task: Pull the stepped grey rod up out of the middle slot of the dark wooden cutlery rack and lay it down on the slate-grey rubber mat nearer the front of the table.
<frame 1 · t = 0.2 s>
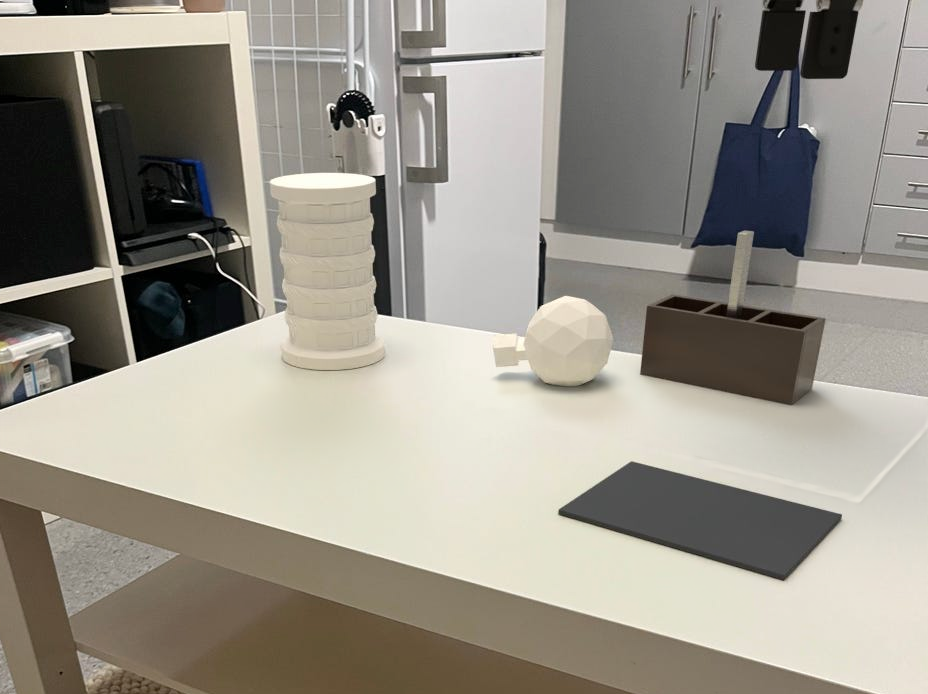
hand: (797, 74, 75), 29 cm above the table, tool pointing down, fingers open, 9 cm apart
mat: (698, 516, 78), on the table
perfume bottle: (552, 384, 105), on the table
stepped grey rod: (724, 381, 103), point 1 cm above the table, touching rack
decorative container: (333, 356, 114), on the table
rack: (723, 387, 104), on the table
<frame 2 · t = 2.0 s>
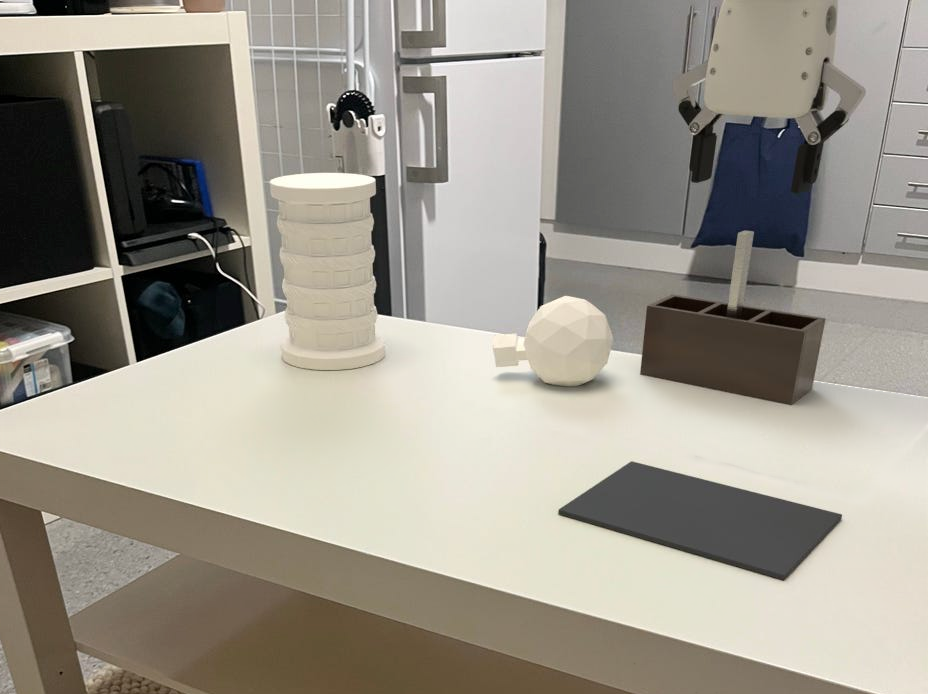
hand: (749, 186, 94), 19 cm above the table, tool pointing down, fingers open, 9 cm apart
nothing on the table moved.
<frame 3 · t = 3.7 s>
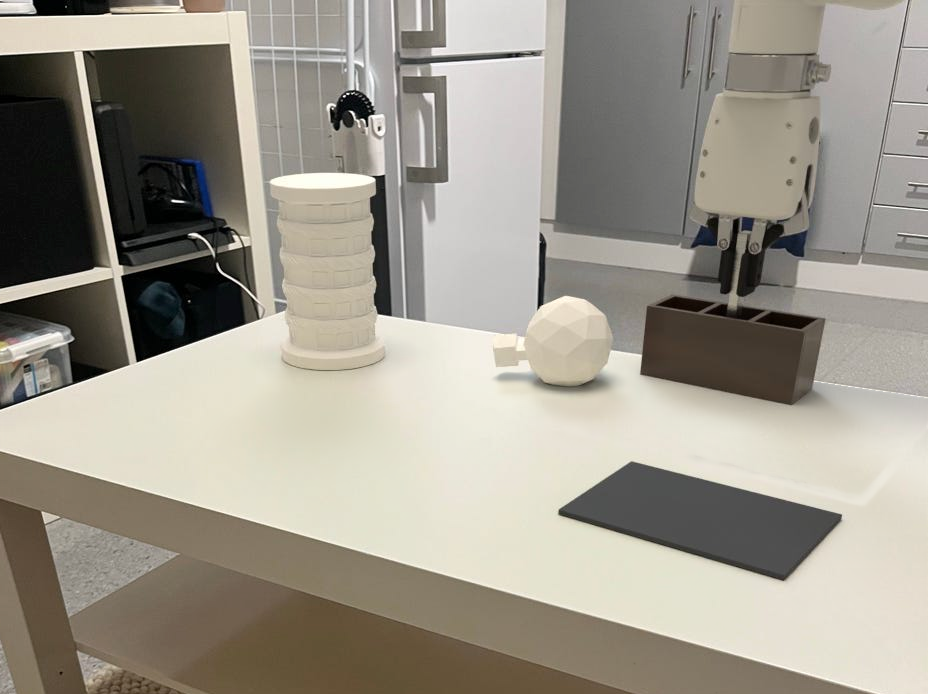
hand: (737, 291, 99), 10 cm above the table, tool pointing down, fingers closed on stepped grey rod, 1 cm apart
stepped grey rod: (724, 381, 103), point 1 cm above the table, touching gripper, rack
everything else where it was.
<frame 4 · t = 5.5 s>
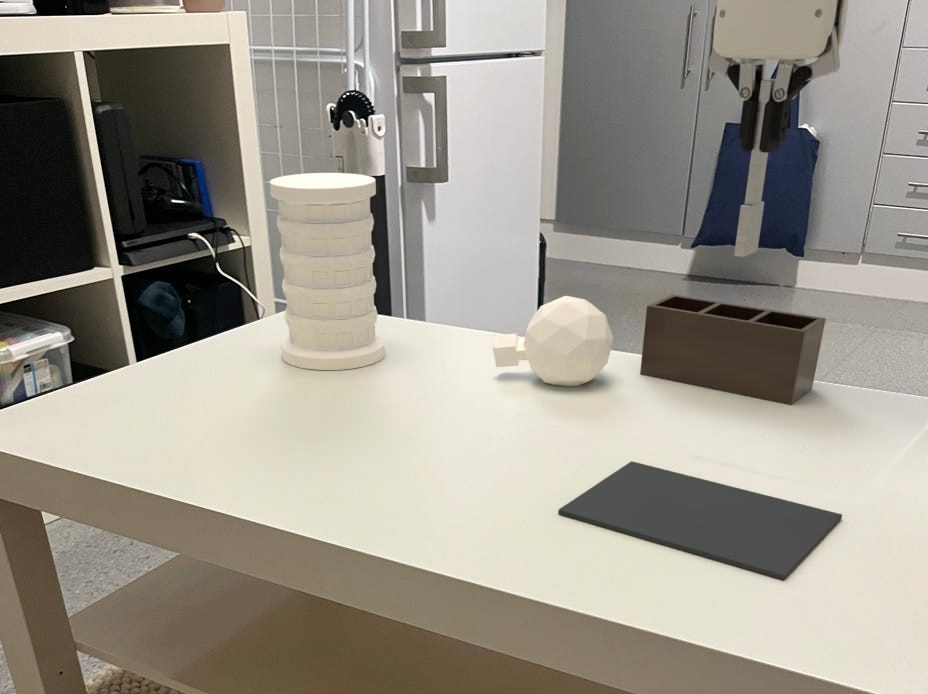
hand: (760, 149, 91), 22 cm above the table, tool pointing down, fingers closed on stepped grey rod, 1 cm apart
stepped grey rod: (745, 253, 96), point 13 cm above the table, touching gripper
everything else where it was.
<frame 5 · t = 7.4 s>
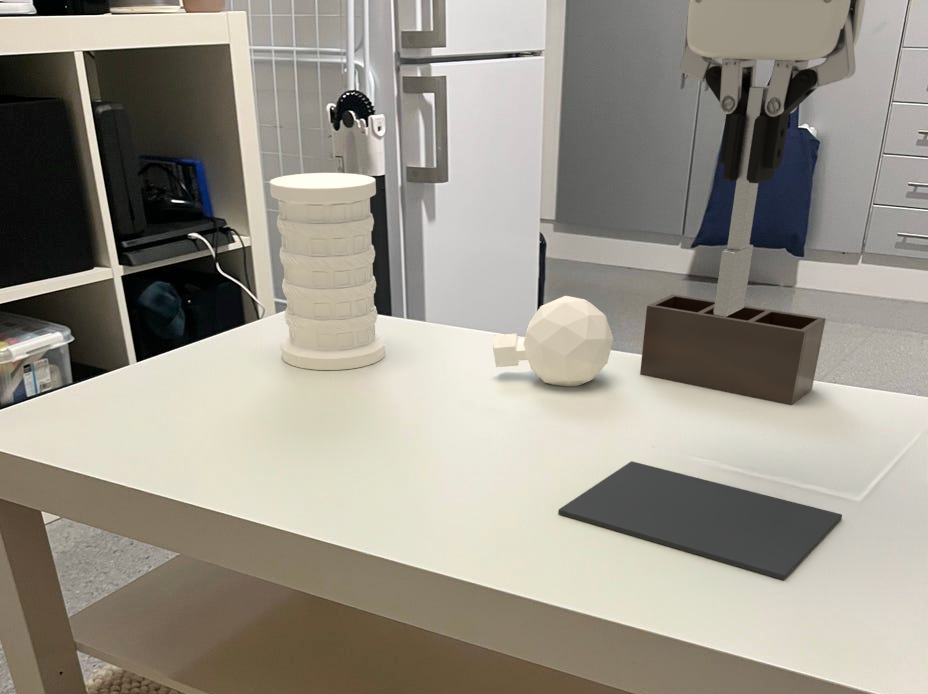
hand: (748, 178, 69), 23 cm above the table, tool pointing down, fingers closed on stepped grey rod, 1 cm apart
stepped grey rod: (728, 311, 74), point 14 cm above the table, touching gripper
everything else where it was.
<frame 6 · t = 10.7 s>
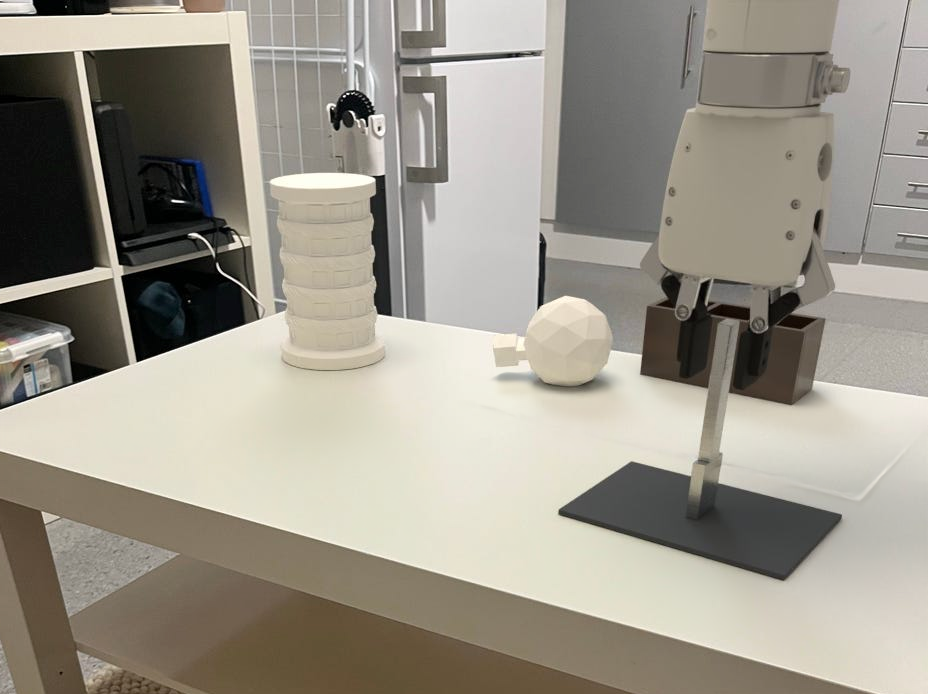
hand: (718, 376, 72), 11 cm above the table, tool pointing down, fingers open, 3 cm apart
stepped grey rod: (700, 511, 78), resting on mat
everything else where it was.
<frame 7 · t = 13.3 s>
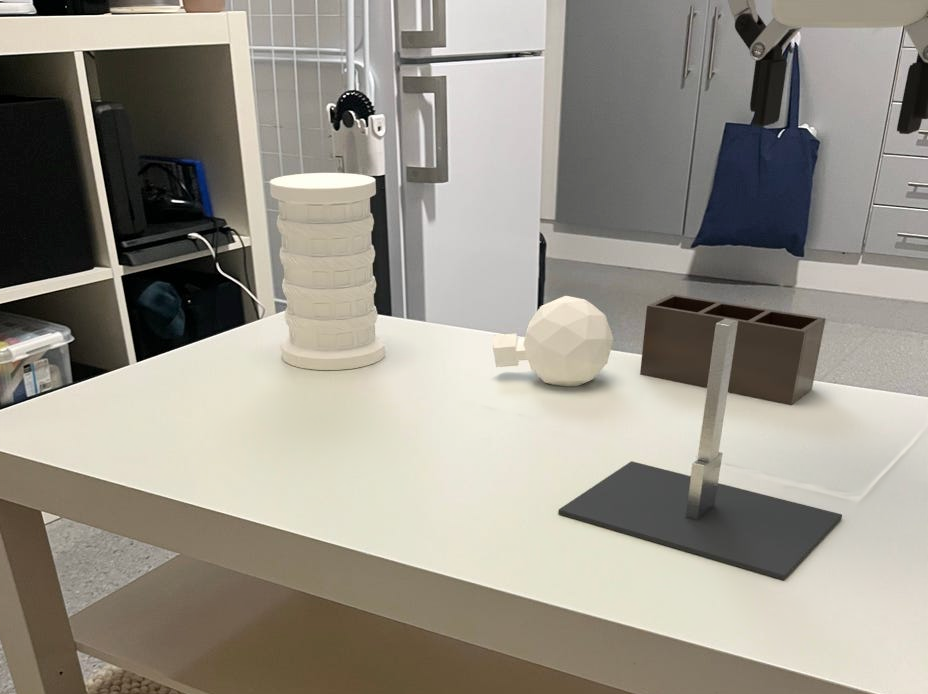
hand: (834, 128, 69), 26 cm above the table, tool pointing down, fingers open, 9 cm apart
nothing on the table moved.
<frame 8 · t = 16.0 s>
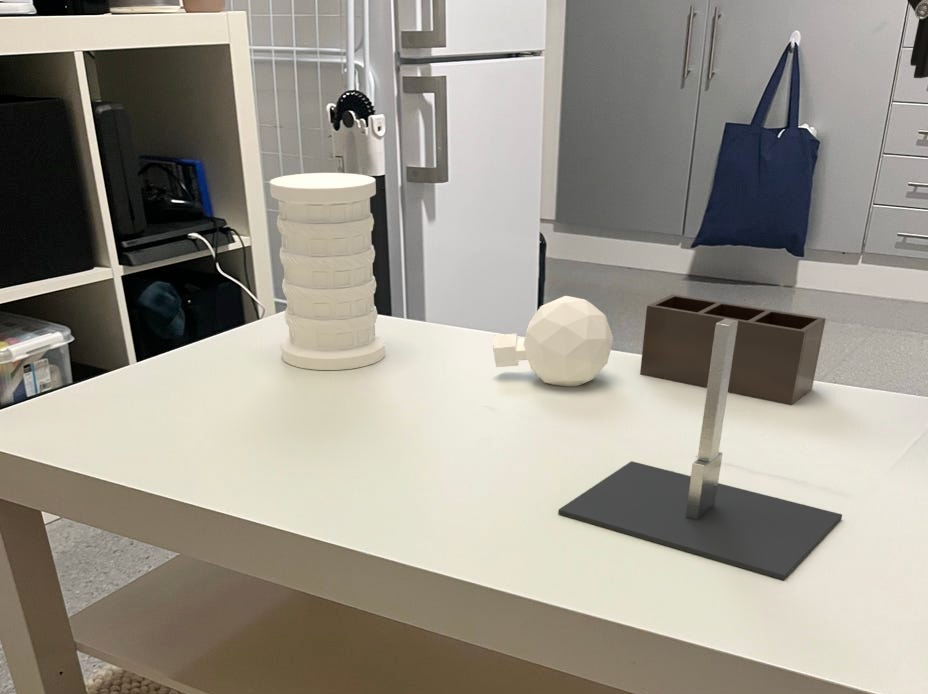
nothing on the table moved.
at the end: stepped grey rod inside the target area on the mat (0.0 cm from its centre), point 0.4 cm above the mat's base; stepped grey rod moved 31.9 cm from its start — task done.
